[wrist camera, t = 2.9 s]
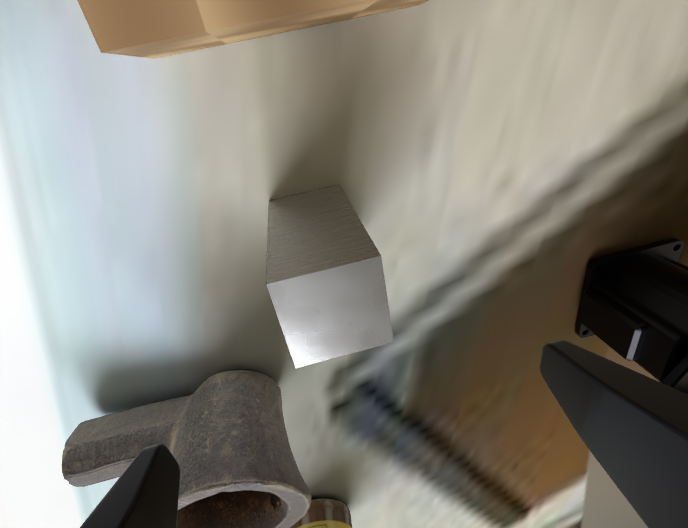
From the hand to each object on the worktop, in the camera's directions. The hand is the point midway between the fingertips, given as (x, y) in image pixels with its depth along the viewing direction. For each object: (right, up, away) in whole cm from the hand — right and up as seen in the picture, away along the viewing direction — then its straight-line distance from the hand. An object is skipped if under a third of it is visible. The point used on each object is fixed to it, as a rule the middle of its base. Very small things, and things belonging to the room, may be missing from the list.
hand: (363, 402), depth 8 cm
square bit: (-2, +5, +10) cm, 12 cm away
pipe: (-10, -5, +15) cm, 18 cm away
